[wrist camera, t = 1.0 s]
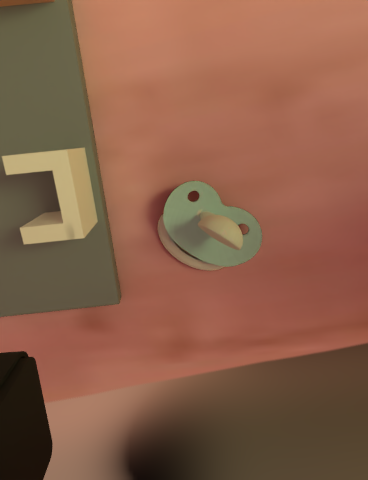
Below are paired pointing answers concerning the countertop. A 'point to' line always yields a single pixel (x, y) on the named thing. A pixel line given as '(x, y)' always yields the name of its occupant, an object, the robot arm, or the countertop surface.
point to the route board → (49, 170)
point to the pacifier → (207, 229)
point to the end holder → (22, 2)
